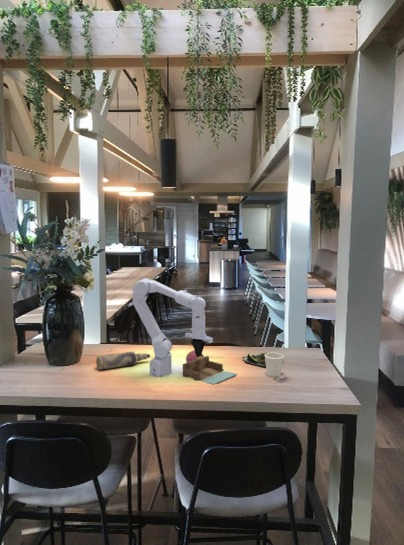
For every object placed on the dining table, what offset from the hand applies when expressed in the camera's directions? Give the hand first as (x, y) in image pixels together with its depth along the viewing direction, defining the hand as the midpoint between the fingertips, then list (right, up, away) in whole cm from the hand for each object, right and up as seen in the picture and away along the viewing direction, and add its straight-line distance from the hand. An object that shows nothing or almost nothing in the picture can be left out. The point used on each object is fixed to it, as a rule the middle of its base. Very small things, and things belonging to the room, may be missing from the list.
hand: (198, 356), depth 190 cm
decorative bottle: (-36, -8, +17) cm, 40 cm away
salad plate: (+31, -8, +22) cm, 38 cm away
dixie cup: (+33, -10, 0) cm, 34 cm away
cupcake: (-2, -6, +16) cm, 18 cm away
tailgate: (+6, -8, -2) cm, 10 cm away
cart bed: (+2, -9, +2) cm, 10 cm away
